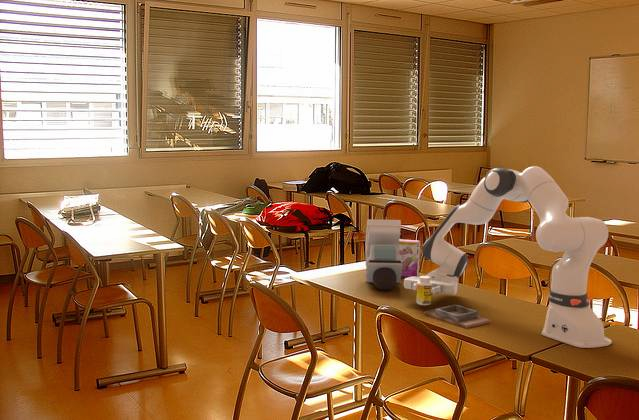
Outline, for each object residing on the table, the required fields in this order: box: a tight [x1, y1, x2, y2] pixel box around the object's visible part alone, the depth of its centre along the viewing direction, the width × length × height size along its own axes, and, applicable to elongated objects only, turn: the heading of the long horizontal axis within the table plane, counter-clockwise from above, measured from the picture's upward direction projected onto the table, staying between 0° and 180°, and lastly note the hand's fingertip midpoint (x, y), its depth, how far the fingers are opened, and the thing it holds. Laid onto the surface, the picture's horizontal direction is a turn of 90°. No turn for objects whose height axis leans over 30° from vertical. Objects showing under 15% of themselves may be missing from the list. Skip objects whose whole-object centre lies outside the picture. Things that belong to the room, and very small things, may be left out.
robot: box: [365, 218, 403, 291], centre depth 289 cm, size 14×22×30 cm
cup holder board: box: [423, 304, 491, 329], centre depth 242 cm, size 20×12×3 cm, turn 36°
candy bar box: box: [399, 238, 421, 278], centre depth 306 cm, size 11×5×16 cm, turn 74°
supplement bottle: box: [416, 275, 433, 306], centre depth 253 cm, size 6×6×10 cm
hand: (423, 289), depth 253 cm, fingers closed on supplement bottle, 5 cm apart
